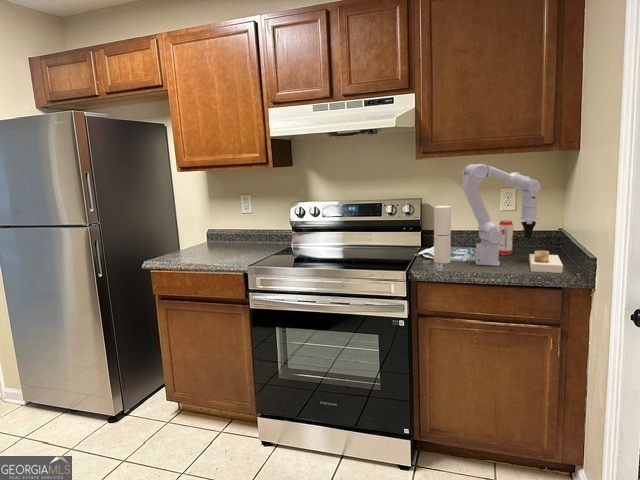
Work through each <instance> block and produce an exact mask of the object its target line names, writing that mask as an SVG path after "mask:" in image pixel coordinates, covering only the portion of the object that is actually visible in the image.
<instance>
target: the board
mask: <svg viewBox="0 0 640 480" xmlns="http://www.w3.org/2000/svg"><path fill="white" fill-rule="evenodd" d="M534 257H535V253H529V256H528V258H529V259H528V262H529V266H530V271H531V272H537V273H538V272H539V273H553V274H555V273H556V274H558V273H559V274H563V268H564V265H563V263H562V261H561V259H560V257H559V255H558V254H549V262H547V263H540V262H535V261H534Z"/></svg>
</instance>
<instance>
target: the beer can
mask: <svg viewBox="0 0 640 480" xmlns="http://www.w3.org/2000/svg"><path fill="white" fill-rule="evenodd" d="M498 230H499V231H500V232H501V233H502V240H501V241H500V242H499V256H500V255H501V256H510V255H512V253H513V241H514V240H513V236H514V235H513V231H514V224H513V220H510V219H509V220H508V219H505V220H500V221H499V223H498Z"/></svg>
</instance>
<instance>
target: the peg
mask: <svg viewBox="0 0 640 480" xmlns="http://www.w3.org/2000/svg"><path fill="white" fill-rule="evenodd" d="M534 254H535V257H534V261H535V262H540V263H547V262H549V255H550V251H548V250H534Z"/></svg>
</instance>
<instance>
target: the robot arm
mask: <svg viewBox="0 0 640 480" xmlns="http://www.w3.org/2000/svg"><path fill="white" fill-rule="evenodd" d="M462 175H463V177H462V178H463V179H462V180H463V181H462V191H463V192H464V195H465V198H466V200H467V201H468V204H469V206H470V208H471V210H472V212H473V215H474V218H475V219H476V221H477V223H478V224H477V225H478V226H477V229H478V236H479V237H478V238H479V239H480V240H481V241H480V242H479V243H478V242H477V243H476V245H475V246H476V247H475V257H474V258H475V259H474V260H475V265H476V266H477V265H480V266H481V265H482V266H500V260H499V259H500V258H499V257H500V254H499V242H500V241H501V240H502V233H501V232H500V231H499V228H497V225H496V224H495V223H494V222H493V221H492V219H491V217H490V215H489V213H488V210H487V208H486V206H485V204H484V201H483V198H482V196H481V195H480V192H479V190H478V187H479V185H480V184H481V182H483V180H484V179H485V178H486V177H492V178H496V179H499V180H502V181H505V183H506V185H508V186H509V187H512V188H514V189H518V190H520V192H521V193H522V195H521V196H522V198H521V216H520V220H523V221H521V222H520V223H521V225H522V227H523V233H524V234H523V235H524V238H525V239H531V238H532V235H533V230H534V228H535V226H536V224H537V222H536V220H540V216H537V210H538V209H537V207H538V205H537V204H538V196H539V195H538V194H539V191H540V190H541V188H542V186H541V184H540V182H539V180H537V179H534V178H531V177H530V176H528V175H526V176H525V175H523V174H520V172H519V171H514V172H513V171H512V172H510V173H508V172H506V171H504V170H502V169H499V168H497V167H494V166H490V165H487V164H484V163H477V164H475V163H470V164H468V165H467V166H465V167H464V170H463V172H462Z"/></svg>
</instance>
